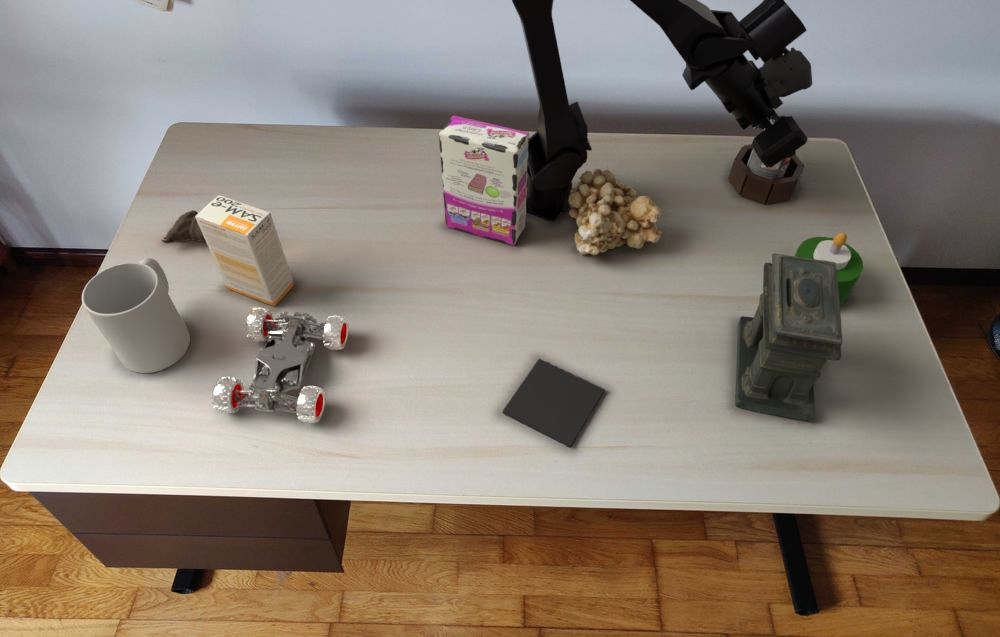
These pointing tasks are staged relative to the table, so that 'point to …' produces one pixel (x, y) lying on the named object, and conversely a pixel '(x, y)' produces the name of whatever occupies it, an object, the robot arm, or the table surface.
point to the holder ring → (763, 180)
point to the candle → (835, 259)
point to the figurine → (185, 229)
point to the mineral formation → (611, 214)
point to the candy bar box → (484, 178)
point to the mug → (137, 315)
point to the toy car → (282, 365)
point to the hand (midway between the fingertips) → (784, 143)
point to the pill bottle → (767, 172)
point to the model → (789, 337)
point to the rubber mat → (554, 402)
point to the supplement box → (246, 249)
